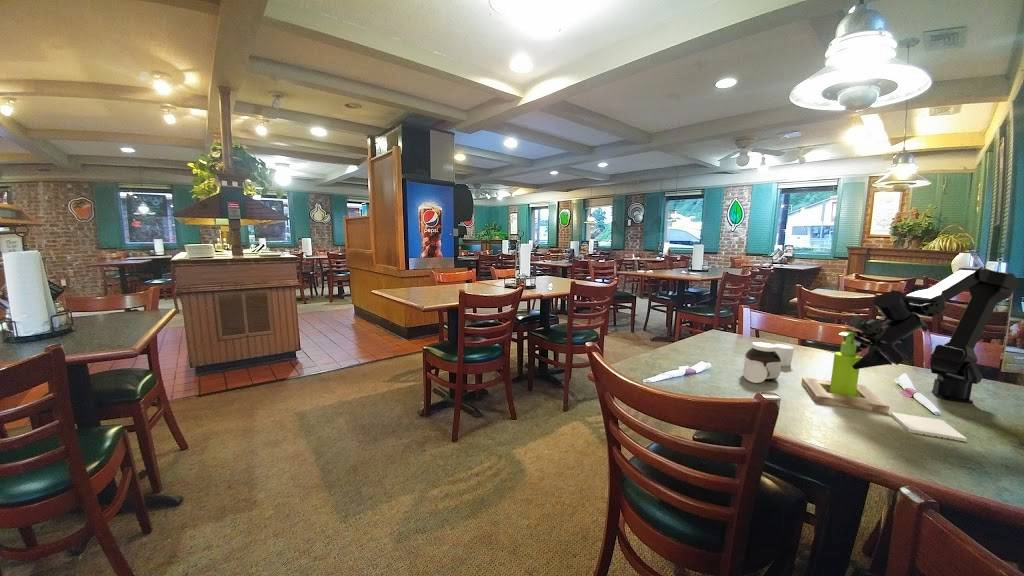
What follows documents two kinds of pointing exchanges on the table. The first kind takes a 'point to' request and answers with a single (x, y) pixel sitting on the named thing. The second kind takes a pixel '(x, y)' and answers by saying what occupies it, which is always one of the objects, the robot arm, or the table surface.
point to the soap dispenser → (845, 367)
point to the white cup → (785, 353)
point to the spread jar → (761, 363)
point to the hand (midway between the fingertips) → (844, 362)
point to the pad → (927, 426)
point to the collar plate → (844, 396)
